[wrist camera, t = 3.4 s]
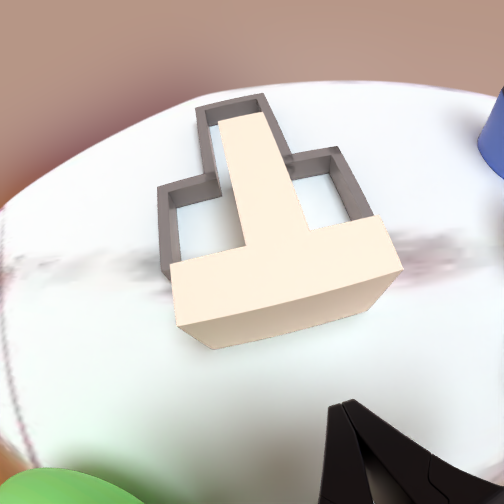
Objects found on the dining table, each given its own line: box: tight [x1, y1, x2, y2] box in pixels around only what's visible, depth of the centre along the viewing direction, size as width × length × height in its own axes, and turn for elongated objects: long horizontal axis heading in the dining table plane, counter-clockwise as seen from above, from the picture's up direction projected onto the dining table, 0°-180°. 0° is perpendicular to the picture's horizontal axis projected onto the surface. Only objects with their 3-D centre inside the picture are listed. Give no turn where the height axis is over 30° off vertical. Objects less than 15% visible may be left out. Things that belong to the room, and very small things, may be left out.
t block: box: [170, 112, 403, 350], centre depth 21 cm, size 14×12×8 cm
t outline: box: [157, 93, 374, 281], centre depth 27 cm, size 20×17×2 cm
